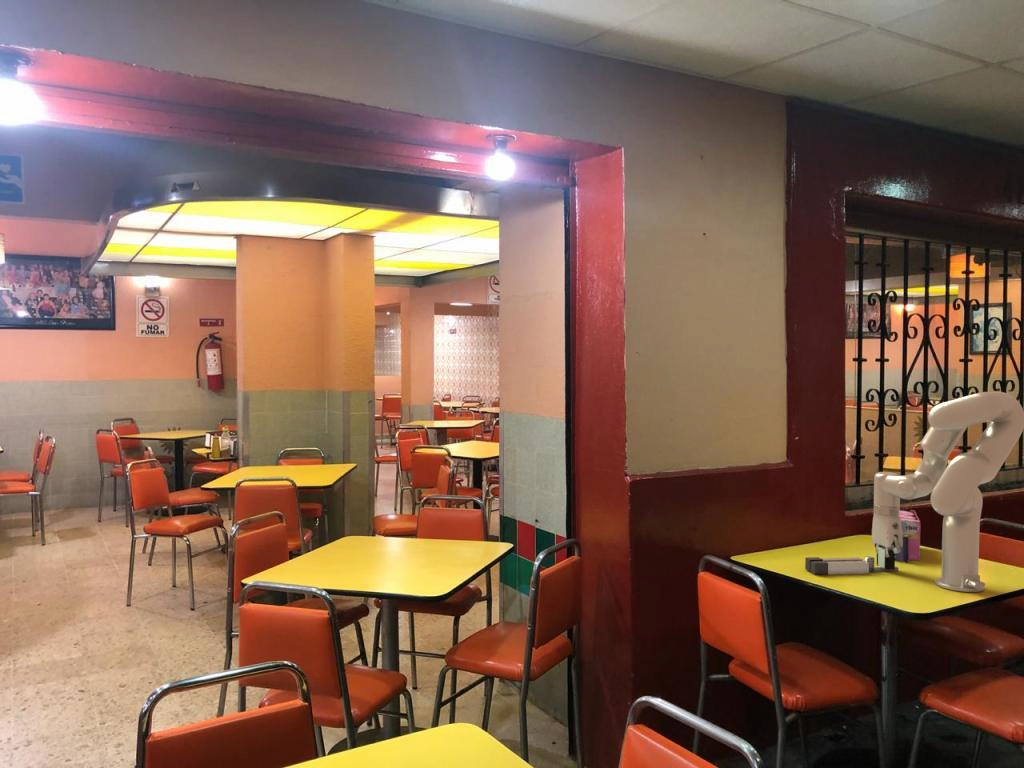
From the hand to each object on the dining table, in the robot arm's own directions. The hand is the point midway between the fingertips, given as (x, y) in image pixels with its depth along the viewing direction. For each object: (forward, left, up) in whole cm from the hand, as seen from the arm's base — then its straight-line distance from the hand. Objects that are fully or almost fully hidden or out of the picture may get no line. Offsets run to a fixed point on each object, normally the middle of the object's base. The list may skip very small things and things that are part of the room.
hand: (885, 566), depth 246 cm
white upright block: (0, 0, 0) cm, 0 cm away
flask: (+13, -12, -2) cm, 17 cm away
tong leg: (+2, +17, -1) cm, 17 cm away
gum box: (+22, -22, -2) cm, 31 cm away
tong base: (-1, +11, -1) cm, 11 cm away
